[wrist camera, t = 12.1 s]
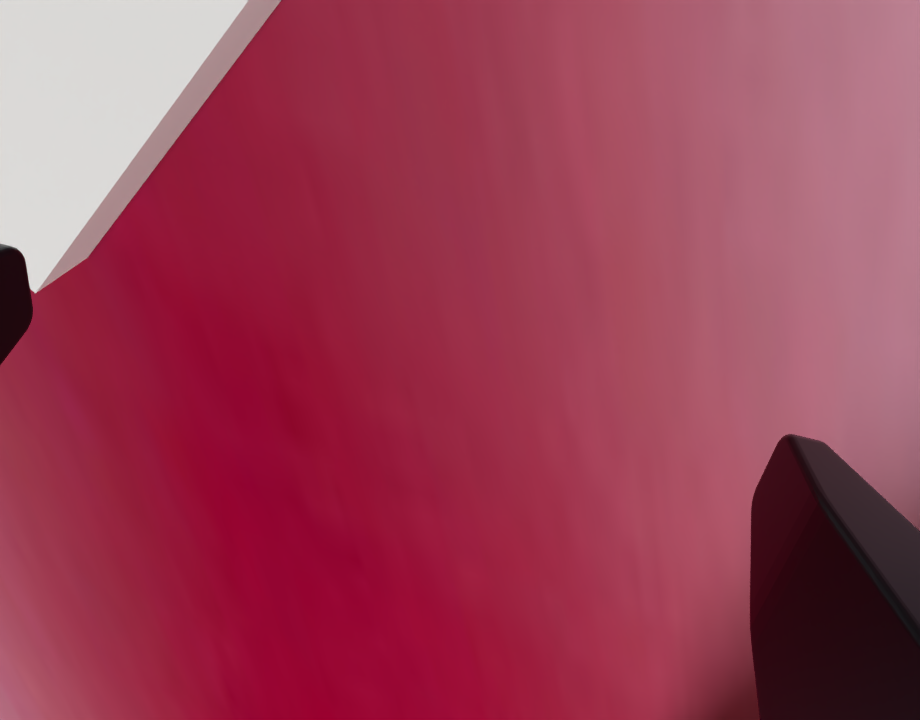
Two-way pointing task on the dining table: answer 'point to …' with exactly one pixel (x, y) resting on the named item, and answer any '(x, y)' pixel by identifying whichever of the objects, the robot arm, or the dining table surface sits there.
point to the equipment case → (99, 109)
